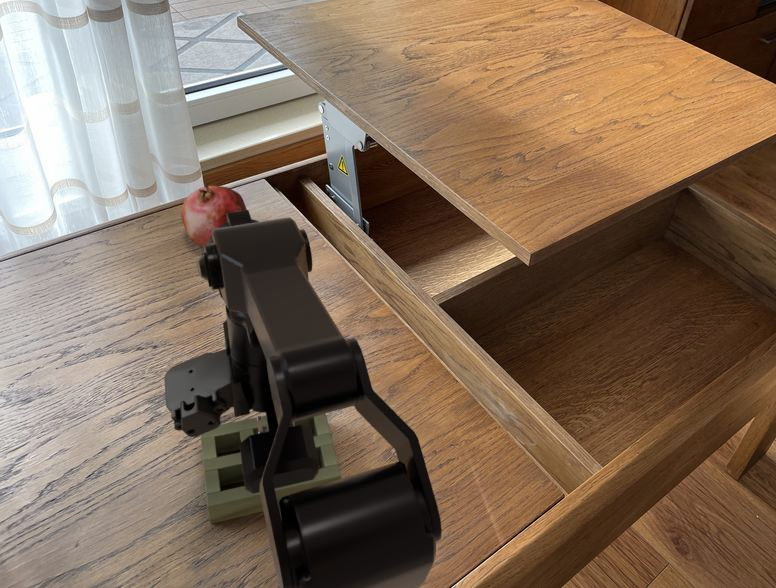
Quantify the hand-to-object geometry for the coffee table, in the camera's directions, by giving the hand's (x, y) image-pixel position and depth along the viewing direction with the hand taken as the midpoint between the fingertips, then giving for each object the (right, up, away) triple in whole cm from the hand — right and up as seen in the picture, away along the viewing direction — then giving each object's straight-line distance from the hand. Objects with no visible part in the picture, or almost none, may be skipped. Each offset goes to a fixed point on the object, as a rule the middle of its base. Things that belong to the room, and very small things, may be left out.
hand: (270, 443), depth 72 cm
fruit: (-17, +21, +34) cm, 43 cm away
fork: (-1, -6, +5) cm, 8 cm away
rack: (-2, -5, +7) cm, 8 cm away
